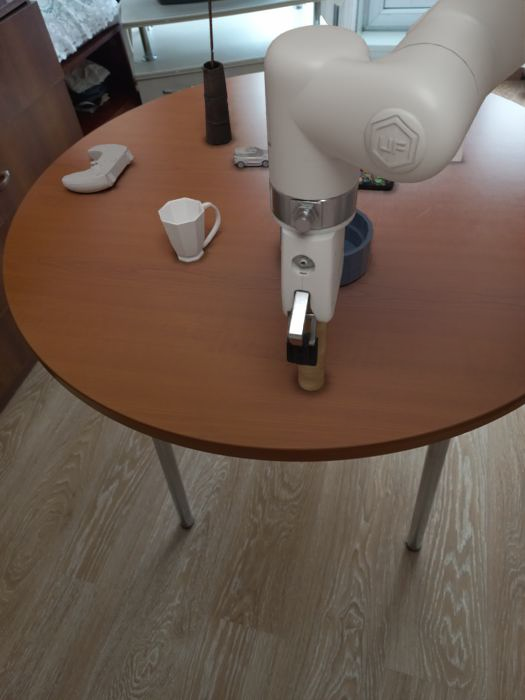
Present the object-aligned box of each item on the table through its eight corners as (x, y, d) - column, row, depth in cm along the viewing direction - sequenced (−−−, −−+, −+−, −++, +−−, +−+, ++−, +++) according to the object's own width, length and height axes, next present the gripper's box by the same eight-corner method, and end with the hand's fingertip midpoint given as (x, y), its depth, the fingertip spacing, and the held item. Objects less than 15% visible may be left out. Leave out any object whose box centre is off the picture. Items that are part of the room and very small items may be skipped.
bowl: (348, 226, 84) (350, 194, 80) (384, 277, 76) (389, 244, 71) (270, 245, 83) (268, 213, 78) (298, 299, 74) (297, 267, 70)
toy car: (275, 167, 98) (274, 152, 96) (233, 168, 98) (231, 154, 96) (275, 157, 100) (275, 142, 98) (234, 158, 101) (233, 144, 99)
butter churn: (211, 158, 101) (186, -9, 80) (185, 141, 107) (155, -20, 85) (248, 142, 105) (234, -23, 84) (221, 126, 110) (201, -33, 89)
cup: (160, 253, 83) (148, 210, 77) (209, 226, 87) (202, 183, 81) (185, 274, 79) (174, 230, 73) (235, 244, 83) (229, 201, 77)
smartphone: (393, 187, 89) (307, 181, 92) (392, 191, 90) (307, 186, 93) (395, 163, 94) (314, 158, 97) (395, 168, 95) (314, 163, 98)
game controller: (90, 140, 103) (132, 133, 99) (100, 161, 106) (141, 154, 102) (54, 179, 94) (98, 173, 90) (66, 200, 97) (110, 195, 93)
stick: (318, 367, 66) (321, 293, 56) (327, 387, 64) (332, 312, 54) (294, 374, 65) (293, 300, 55) (303, 394, 63) (303, 320, 53)
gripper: (343, 264, 38) (332, 396, 51) (367, 147, 49) (352, 281, 62) (246, 253, 40) (259, 385, 53) (290, 142, 51) (291, 274, 64)
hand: (309, 329), depth 57 cm, fingers open, 9 cm apart
